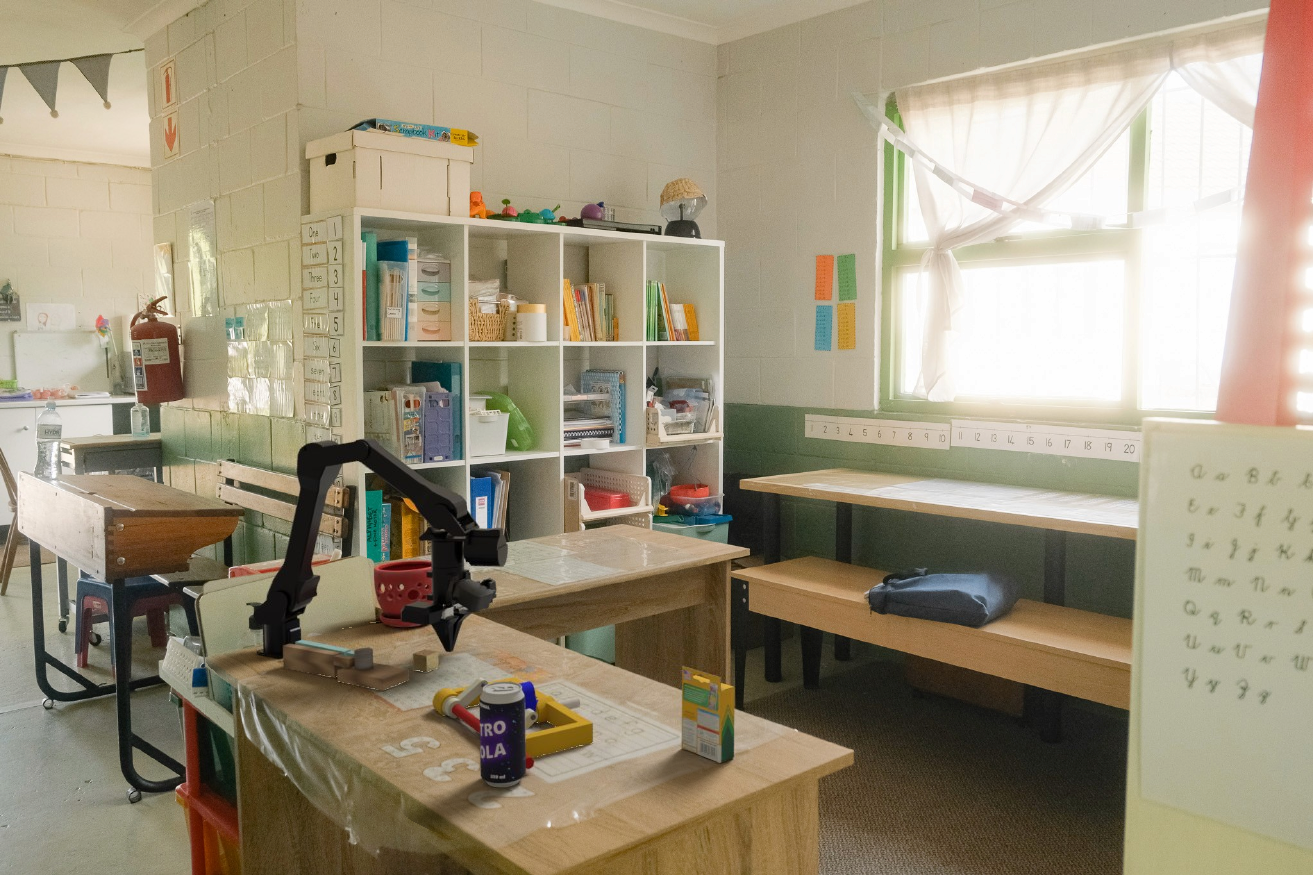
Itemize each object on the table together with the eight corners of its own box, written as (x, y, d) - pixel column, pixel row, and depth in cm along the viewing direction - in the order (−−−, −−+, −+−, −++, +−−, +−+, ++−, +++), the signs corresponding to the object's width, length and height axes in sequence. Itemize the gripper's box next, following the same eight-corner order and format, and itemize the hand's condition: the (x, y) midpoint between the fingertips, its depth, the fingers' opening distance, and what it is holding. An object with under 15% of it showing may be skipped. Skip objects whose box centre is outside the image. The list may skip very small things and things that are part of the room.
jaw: (365, 675, 166) (364, 652, 166) (358, 677, 165) (357, 654, 165) (303, 661, 174) (302, 639, 173) (296, 664, 172) (295, 641, 172)
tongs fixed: (408, 680, 163) (408, 651, 163) (383, 691, 158) (382, 660, 158) (304, 661, 174) (304, 633, 174) (277, 670, 169) (276, 641, 169)
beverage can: (481, 772, 126) (479, 681, 125) (525, 769, 127) (524, 679, 126) (480, 791, 121) (478, 696, 120) (526, 788, 122) (525, 693, 121)
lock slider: (438, 668, 170) (438, 651, 170) (426, 673, 167) (426, 656, 167) (425, 665, 171) (424, 649, 171) (413, 670, 169) (412, 653, 168)
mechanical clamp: (515, 732, 125) (429, 672, 149) (515, 780, 125) (429, 712, 150) (636, 705, 135) (536, 652, 160) (636, 749, 135) (537, 690, 160)
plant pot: (452, 616, 205) (451, 560, 204) (419, 632, 193) (417, 572, 192) (397, 612, 209) (396, 556, 208) (361, 627, 197) (360, 568, 196)
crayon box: (735, 757, 131) (735, 672, 130) (720, 764, 129) (720, 677, 128) (695, 742, 136) (695, 661, 135) (680, 748, 134) (680, 665, 133)
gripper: (449, 579, 162) (451, 672, 163) (516, 560, 178) (517, 644, 179) (398, 573, 167) (399, 663, 168) (467, 554, 183) (468, 636, 184)
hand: (449, 651), depth 175 cm, fingers closed
